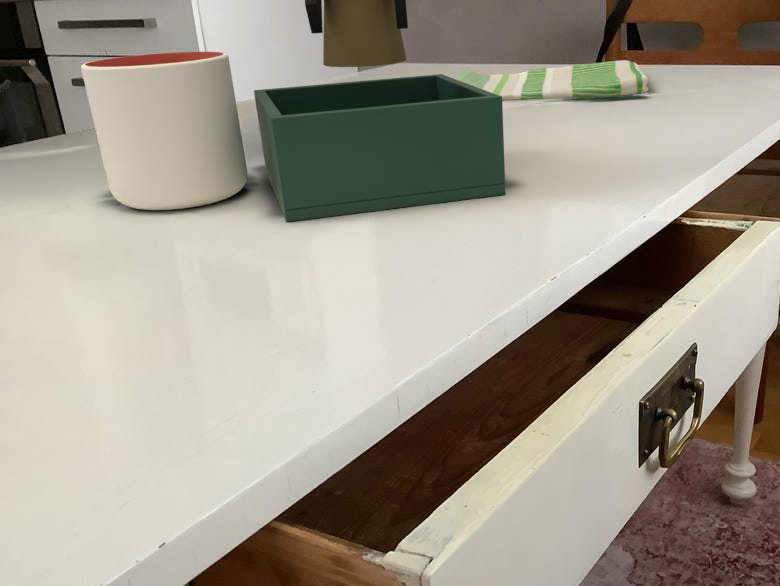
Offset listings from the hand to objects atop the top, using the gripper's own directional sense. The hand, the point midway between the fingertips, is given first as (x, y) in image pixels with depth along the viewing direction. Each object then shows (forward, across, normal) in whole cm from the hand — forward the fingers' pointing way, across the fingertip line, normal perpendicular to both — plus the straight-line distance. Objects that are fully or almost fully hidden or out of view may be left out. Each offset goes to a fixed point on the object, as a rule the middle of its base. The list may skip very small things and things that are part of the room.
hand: (357, 16), depth 57 cm
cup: (+6, +15, -11) cm, 20 cm away
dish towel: (-25, -20, -42) cm, 53 cm away
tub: (+6, 0, -11) cm, 13 cm away
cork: (0, 0, -5) cm, 5 cm away
